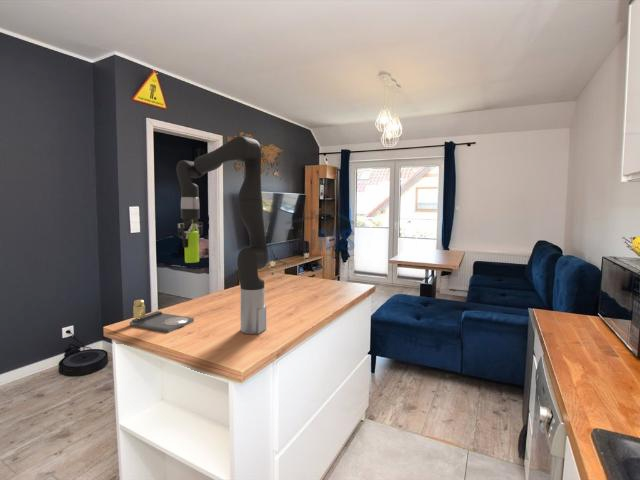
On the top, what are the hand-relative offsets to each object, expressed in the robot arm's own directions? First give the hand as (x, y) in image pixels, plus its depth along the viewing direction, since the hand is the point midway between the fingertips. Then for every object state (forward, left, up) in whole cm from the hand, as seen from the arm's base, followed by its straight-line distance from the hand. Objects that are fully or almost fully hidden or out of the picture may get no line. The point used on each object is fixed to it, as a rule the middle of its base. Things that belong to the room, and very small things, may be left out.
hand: (191, 246), depth 150 cm
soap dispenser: (0, 0, -7) cm, 7 cm away
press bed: (+4, +13, -31) cm, 34 cm away
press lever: (+12, +17, -28) cm, 35 cm away
